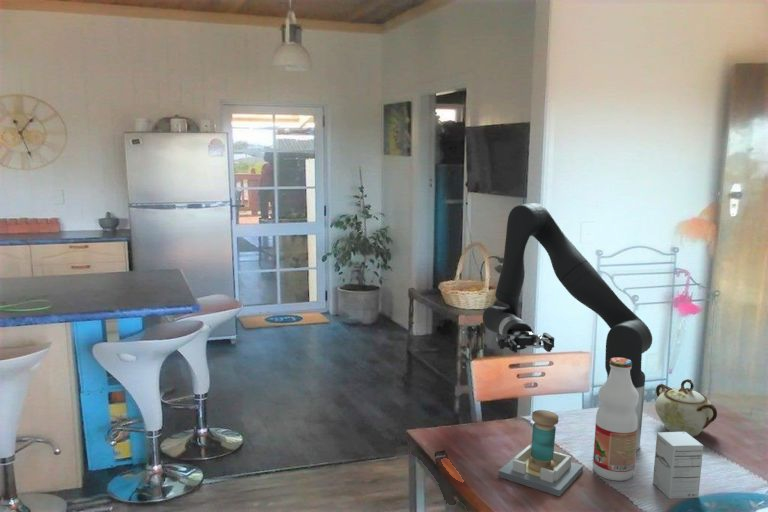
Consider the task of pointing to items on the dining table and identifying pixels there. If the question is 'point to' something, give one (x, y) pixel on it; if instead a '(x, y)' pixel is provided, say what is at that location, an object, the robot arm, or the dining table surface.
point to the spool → (543, 440)
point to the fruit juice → (616, 424)
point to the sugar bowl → (684, 409)
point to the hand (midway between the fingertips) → (532, 348)
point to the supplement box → (677, 464)
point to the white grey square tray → (542, 472)
